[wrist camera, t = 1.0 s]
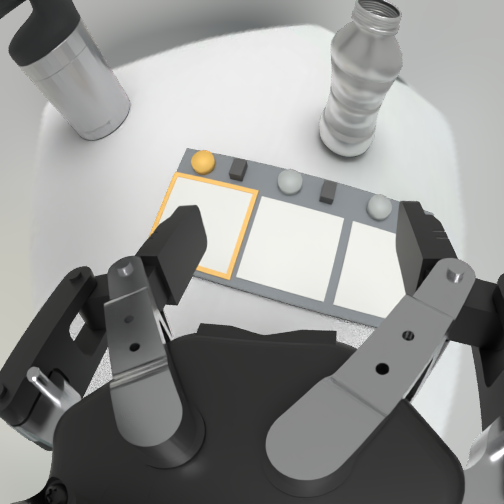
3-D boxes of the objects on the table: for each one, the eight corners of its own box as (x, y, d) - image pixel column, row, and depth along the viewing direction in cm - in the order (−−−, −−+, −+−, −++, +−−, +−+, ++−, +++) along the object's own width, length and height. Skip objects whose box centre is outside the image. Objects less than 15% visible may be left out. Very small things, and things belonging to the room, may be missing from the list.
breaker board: (146, 260, 34) (137, 254, 31) (189, 153, 37) (184, 141, 34) (409, 335, 30) (419, 335, 27) (429, 217, 33) (438, 209, 30)
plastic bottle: (348, 173, 35) (398, 40, 15) (305, 138, 36) (319, -1, 17) (378, 143, 35) (432, 19, 16) (337, 112, 37) (363, -18, 18)
